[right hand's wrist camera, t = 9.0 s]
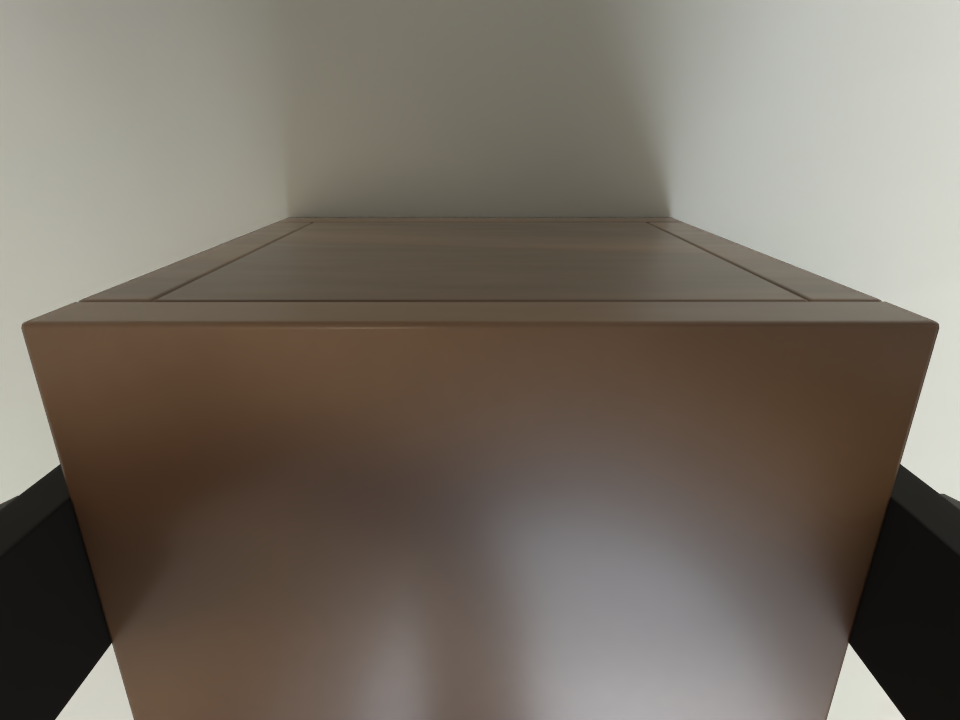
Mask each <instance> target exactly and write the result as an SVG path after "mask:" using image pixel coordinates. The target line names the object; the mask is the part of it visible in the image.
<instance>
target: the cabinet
mask: <svg viewBox="0 0 960 720" xmlns="http://www.w3.org/2000/svg"><path fill="white" fill-rule="evenodd" d="M938 330H939V324H938V323H937V322H935V321H933V320H931V319H928V318H925V317H923V316H920V315H918V314H915V313H913V312H910V311H908V310H905V309H903V308H900V307H897V306H895V305H892V304H890V303H887V302H882V301H881V300H879V299H877V298H874V297H872V296H869V295H867V294H864V293H862V292H859V291H856V290H854V289H851V288H849V287H846V286H844V285H841V284H839V283H836V282H834V281H831V280H828V279H826V278H823V277H821V276H818V275H816V274H813V273H811V272H808V271H806V270H803V269H801V268H798V267H795V266H793V265H790V264H788V263H785V262H783V261H780V260H778V259H775V258H773V257H770V256H767V255H765V254H762V253H760V252H757V251H755V250H752V249H750V248H747V247H745V246H742V245H740V244H737V243H734V242H732V241H729V240H727V239H724V238H722V237H719V236H717V235H714V234H712V233H709V232H706V231H704V230H701V229H699V228H696V227H694V226H691V225H689V224H686V223H684V222H681V221H679V220H676V219H674V218H286V219H284V220H281V221H279V222H276V223H274V224H271V225H269V226H266V227H264V228H261V229H259V230H256V231H254V232H251V233H249V234H246V235H244V236H241V237H238V238H236V239H233V240H231V241H228V242H226V243H223V244H221V245H218V246H216V247H213V248H211V249H208V250H206V251H203V252H201V253H198V254H196V255H193V256H191V257H188V258H186V259H183V260H180V261H178V262H175V263H173V264H170V265H168V266H165V267H163V268H160V269H158V270H155V271H153V272H150V273H148V274H145V275H143V276H140V277H138V278H135V279H133V280H130V281H128V282H125V283H123V284H120V285H117V286H115V287H112V288H110V289H107V290H105V291H102V292H100V293H97V294H95V295H92V296H90V297H87V298H85V299H82V300H80V301H79V302H74V303H72V304H69V305H67V306H64V307H62V308H59V309H57V310H54V311H52V312H49V313H47V314H44V315H42V316H39V317H36V318H34V319H31V320H29V321H27V322H24V323H23V324H22V332H23V335H24V339H25V342H26V346H27V349H28V353H29V356H30V360H31V363H32V367H33V370H34V374H35V377H36V381H37V384H38V387H39V391H40V394H41V398H42V401H43V405H44V408H45V412H46V415H47V419H48V422H49V426H50V429H51V433H52V436H53V440H54V443H55V447H56V450H57V453H58V457H59V460H60V464H61V467H62V471H63V474H64V478H65V481H66V485H67V488H68V492H69V495H70V499H71V502H72V506H73V509H74V513H75V516H76V519H77V523H78V526H79V530H80V533H81V537H82V540H83V544H84V547H85V551H86V554H87V558H88V561H89V565H90V568H91V572H92V575H93V579H94V582H95V585H96V589H97V592H98V596H99V599H100V603H101V606H102V610H103V613H104V617H105V620H106V624H107V627H108V631H109V634H110V638H111V641H112V645H113V648H114V652H115V655H116V658H117V662H118V665H119V669H120V672H121V676H122V679H123V683H124V686H125V690H126V693H127V697H128V700H129V704H130V707H131V711H132V714H133V718H134V720H826V719H827V716H828V713H829V709H830V706H831V702H832V699H833V695H834V692H835V688H836V685H837V681H838V678H839V674H840V671H841V667H842V664H843V660H844V657H845V653H846V650H847V646H848V643H849V640H850V636H851V633H852V629H853V626H854V622H855V619H856V615H857V612H858V608H859V605H860V601H861V598H862V594H863V591H864V587H865V584H866V580H867V577H868V574H869V570H870V567H871V563H872V560H873V556H874V553H875V549H876V546H877V542H878V539H879V535H880V532H881V528H882V525H883V521H884V518H885V514H886V511H887V508H888V504H889V501H890V497H891V494H892V490H893V487H894V483H895V480H896V476H897V473H898V469H899V466H900V462H901V459H902V455H903V452H904V448H905V445H906V442H907V438H908V435H909V431H910V428H911V424H912V421H913V417H914V414H915V410H916V407H917V403H918V400H919V396H920V393H921V389H922V386H923V382H924V379H925V375H926V372H927V369H928V365H929V362H930V358H931V355H932V351H933V348H934V344H935V341H936V337H937V334H938Z"/></svg>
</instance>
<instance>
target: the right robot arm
mask: <svg viewBox="0 0 960 720" xmlns="http://www.w3.org/2000/svg"><path fill="white" fill-rule="evenodd" d="M111 643H112V641H111V638H110V634H109V631H108V627H107V624H106V620H105V617H104V613H103V610H102V606H101V603H100V599H99V596H98V592H97V589H96V585H95V582H94V579H93V575H92V572H91V568H90V565H89V561H88V558H87V554H86V551H85V547H84V544H83V540H82V537H81V533H80V530H79V526H78V523H77V519H76V516H75V513H74V509H73V506H72V502H71V499H70V495H69V492H68V488H67V485H66V481H65V478H64V474H63V471H62V467H61V464H60V465H59V466H57V467H56V468H55V469H53V470H52V471H51V472H49V473H48V474H47V475H46V476H44V477H43V478H42V479H40V480H39V481H38V482H36V483H35V484H34V485H32V486H31V487H30V488H28V489H27V490H26V491H25V492H23V493H22V494H21V495H19V496H16V497H14V498H12V499H10V500H8V501H6V502H4V503H2V504H0V720H55V719H56V718H57V716H58V715H59V714H60V712H61V711H62V710H63V708H64V707H65V705H66V704H67V703H68V701H69V700H70V699H71V697H72V696H73V695H74V693H75V692H76V691H77V689H78V688H79V687H80V685H81V684H82V682H83V681H84V680H85V678H86V677H87V676H88V674H89V673H90V672H91V670H92V669H93V668H94V666H95V665H96V664H97V662H98V661H99V659H100V658H101V657H102V655H103V654H104V653H105V651H106V650H107V649H108V647H109V646H110V645H111ZM849 644H850V645H851V646H852V648H853V649H854V650H855V652H856V653H857V654H858V656H859V657H860V659H861V660H862V661H863V663H864V664H865V665H866V667H867V668H868V669H869V671H870V672H871V673H872V675H873V676H874V677H875V679H876V680H877V682H878V683H879V684H880V686H881V687H882V688H883V690H884V691H885V692H886V694H887V695H888V696H889V698H890V699H891V700H892V702H893V703H894V705H895V706H896V707H897V709H898V710H899V711H900V713H901V714H902V715H903V717H904V718H905V719H906V720H960V502H959V501H957V500H955V499H953V498H951V497H949V496H947V495H945V494H939V493H938V492H936V491H935V490H934V489H932V488H931V487H930V486H928V485H927V484H926V483H924V482H923V481H922V480H920V479H919V478H918V477H917V476H915V475H914V474H913V473H911V472H910V471H909V470H907V469H906V468H905V467H903V466H902V465H901V464H900V466H899V469H898V473H897V476H896V480H895V483H894V487H893V490H892V494H891V497H890V501H889V504H888V508H887V511H886V514H885V518H884V521H883V525H882V528H881V532H880V535H879V539H878V542H877V546H876V549H875V553H874V556H873V560H872V563H871V567H870V570H869V574H868V577H867V580H866V584H865V587H864V591H863V594H862V598H861V601H860V605H859V608H858V612H857V615H856V619H855V622H854V626H853V629H852V633H851V636H850V640H849Z"/></svg>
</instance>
